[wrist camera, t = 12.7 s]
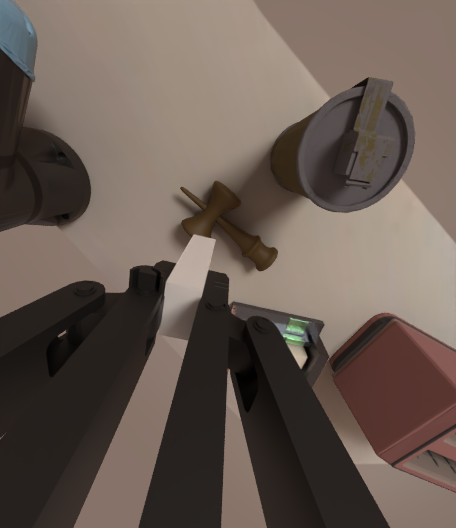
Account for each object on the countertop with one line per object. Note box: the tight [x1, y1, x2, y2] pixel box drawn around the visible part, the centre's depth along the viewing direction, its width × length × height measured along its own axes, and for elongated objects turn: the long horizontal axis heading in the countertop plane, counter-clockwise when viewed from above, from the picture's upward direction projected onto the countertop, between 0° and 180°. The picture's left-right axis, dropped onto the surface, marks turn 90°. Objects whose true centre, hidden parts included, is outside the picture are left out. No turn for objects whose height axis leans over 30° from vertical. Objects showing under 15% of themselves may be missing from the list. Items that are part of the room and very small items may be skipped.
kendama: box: [180, 181, 278, 271], centre depth 39 cm, size 6×10×20 cm
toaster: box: [330, 313, 456, 492], centre depth 45 cm, size 19×34×20 cm, turn 61°
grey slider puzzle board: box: [231, 302, 329, 388], centre depth 49 cm, size 20×16×7 cm
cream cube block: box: [287, 343, 307, 369], centre depth 49 cm, size 4×4×4 cm
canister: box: [271, 77, 415, 213], centre depth 27 cm, size 11×10×20 cm
